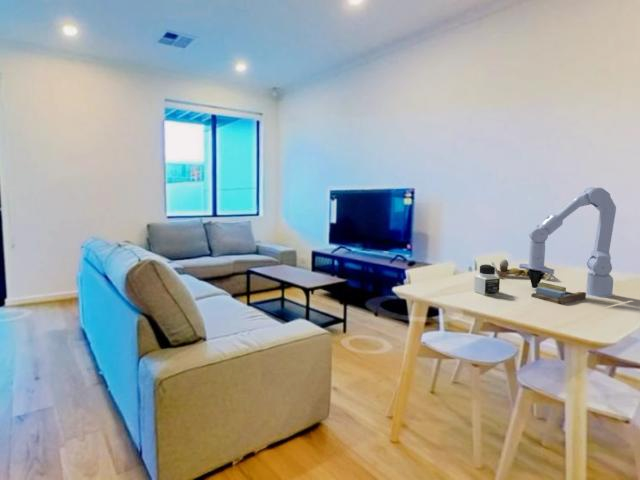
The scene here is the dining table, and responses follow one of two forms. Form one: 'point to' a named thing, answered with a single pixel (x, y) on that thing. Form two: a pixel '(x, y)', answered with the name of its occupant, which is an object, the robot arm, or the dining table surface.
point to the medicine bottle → (486, 281)
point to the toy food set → (515, 272)
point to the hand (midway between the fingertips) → (534, 287)
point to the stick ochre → (552, 286)
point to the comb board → (564, 299)
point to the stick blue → (549, 292)
